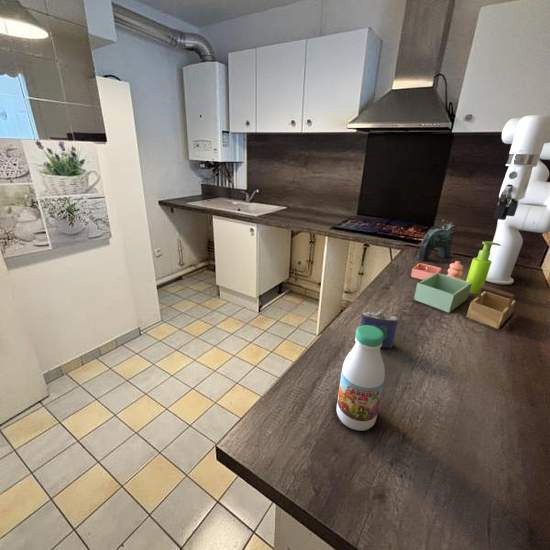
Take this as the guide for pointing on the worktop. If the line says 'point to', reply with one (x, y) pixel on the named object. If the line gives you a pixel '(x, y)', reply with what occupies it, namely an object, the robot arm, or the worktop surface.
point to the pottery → (436, 270)
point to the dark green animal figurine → (437, 241)
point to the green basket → (442, 291)
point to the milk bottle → (362, 380)
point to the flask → (382, 325)
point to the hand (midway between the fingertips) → (503, 217)
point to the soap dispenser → (480, 268)
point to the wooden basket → (491, 307)
